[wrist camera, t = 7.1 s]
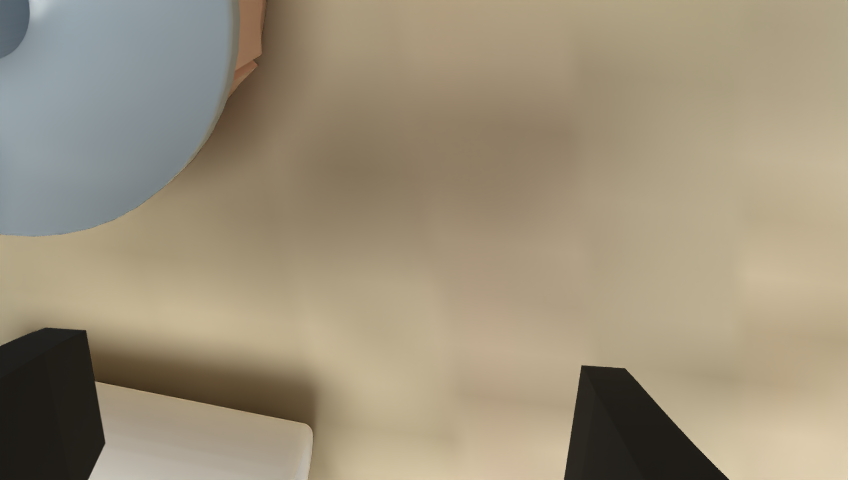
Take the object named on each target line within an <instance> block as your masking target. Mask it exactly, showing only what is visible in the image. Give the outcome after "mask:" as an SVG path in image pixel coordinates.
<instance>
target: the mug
mask: <svg viewBox="0 0 848 480" xmlns="http://www.w3.org/2000/svg"><path fill="white" fill-rule="evenodd" d="M95 385H96V391H97V396H98V402H99V408H100V414H101V419H102V425H103V431H104V437H105V442H106V443H105V445H104V447H103V450H102V452H101V454H100V456H99V458H98V460H97V462H96V464H95V466H94V469H93V471H92V473H91V475H90V477H89V479H88V480H308V476H309V470H310V464H311V457H312V448H313V433H312V430H311V428H310V427H309V426H308V425H307V424H305V423H300V422H295V421H290V420H285V419H280V418H275V417H270V416H265V415H260V414H255V413H250V412H245V411H240V410H235V409H230V408H225V407H220V406H215V405H210V404H205V403H200V402H195V401H190V400H185V399H180V398H175V397H170V396H165V395H160V394H155V393H150V392H145V391H140V390H135V389H130V388H125V387H120V386H115V385H110V384H105V383H100V382H95Z"/></svg>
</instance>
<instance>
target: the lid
mask: <svg viewBox="0 0 848 480" xmlns="http://www.w3.org/2000/svg"><path fill="white" fill-rule="evenodd" d="M239 33H240V9H239V0H0V234H3V235H16V236H47V235H61V234H66V233H71V232H76V231H81V230H86V229H90V228H92V227H95V226H98V225H101V224H103V223H106V222H109V221H112V220H114V219H116V218H118V217H120V216H122V215H124V214H126V213H127V212H129V211H131V210H133V209H135V208H137V207H138V206H140V205H141V204H142V203H144V202H145V201H146V200H148V199H149V198H150V197H151V196H153V195H154V194H155V193H157V192H158V191H159V190H161V189H162V188H163V187H164V186H165V185H166V184H168V183H169V182H170V181H171V180H172V179H174V178H175V177H176V176H177V175H178V174H179V173H180V172H181V171H182V170H183V169H184V168H185V167H186V166H187V165H188V164H189V163H190V162H191V161H192V160H193V159H194V158H195V157H196V155H197V154H198V152H199V151H200V149H201V148H202V147H203V145H204V144H205V142H206V141H207V140H208V138H209V137H210V135H211V134H212V132H213V130H214V128H215V126H216V124H217V122H218V120H219V118H220V116H221V114H222V112H223V110H224V107H225V104H226V101H227V98H228V95H229V92H230V89H231V86H232V83H233V79H234V73H235V68H236V62H237V57H238V52H239Z"/></svg>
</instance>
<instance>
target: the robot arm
mask: <svg viewBox="0 0 848 480" xmlns="http://www.w3.org/2000/svg"><path fill="white" fill-rule="evenodd" d="M105 443H106V442H105V437H104V431H103V425H102V419H101V414H100V408H99V402H98V396H97V391H96V385H95V379H94V373H93V368H92V362H91V356H90V350H89V345H88V339H87V333H86V330H71V329H57V328H43V329H41V330H38V331H35V332H32V333H30V334H27V335H25V336H22V337H20V338H18V339H15V340H13V341H11V342H8V343H6V344H4V345H2V346H0V480H88V479H89V477H90V475H91V473H92V471H93V469H94V466H95V464H96V462H97V460H98V458H99V456H100V454H101V452H102V450H103V447H104V445H105ZM564 480H729V479H728V478H727V477H726V476H725V475H724V474H723V473H722V472H721V471H720V470H719V469H718V468H717V467H716V466H715V465H714V464H713V463H712V462H711V461H710V460H709V459H708V458H707V457H706V456H705V455H704V454H703V453H702V452H701V451H700V450H699V449H698V448H697V447H696V446H695V445H694V444H693V443H692V441H691V440H690V439H689V438H688V437H687V436H686V435H685V434H684V433H683V432H682V431H681V430H680V429H679V428H678V426H677V425H676V424H675V423H674V422H673V421H672V420H671V419H670V418H669V417H668V415H667V414H666V413H665V412H664V411H663V410H662V409H661V408H660V407H659V406H658V404H657V403H656V402H655V401H654V400H653V399H652V398H651V397H650V395H649V394H648V393H647V392H646V391H645V390H644V389H643V388H642V386H641V385H640V384H639V383H638V382H637V381H636V380H635V379H634V377H633V376H632V375H631V374H630V373H629V372H628V371H627V370H626V369H625V368H612V367H597V366H583V365H582V366H581V373H580V379H579V386H578V392H577V399H576V405H575V412H574V418H573V425H572V431H571V438H570V444H569V451H568V457H567V464H566V470H565V477H564Z"/></svg>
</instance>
